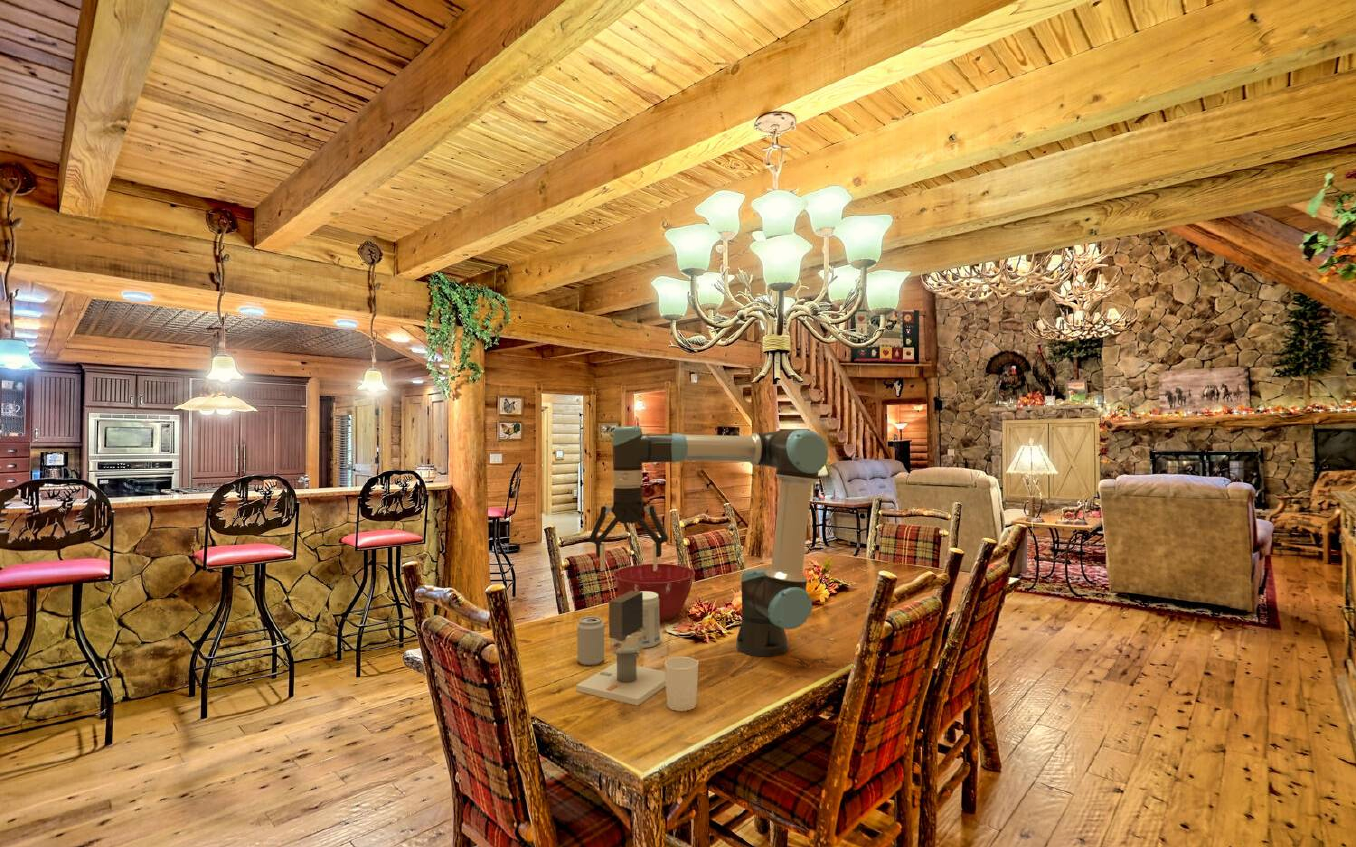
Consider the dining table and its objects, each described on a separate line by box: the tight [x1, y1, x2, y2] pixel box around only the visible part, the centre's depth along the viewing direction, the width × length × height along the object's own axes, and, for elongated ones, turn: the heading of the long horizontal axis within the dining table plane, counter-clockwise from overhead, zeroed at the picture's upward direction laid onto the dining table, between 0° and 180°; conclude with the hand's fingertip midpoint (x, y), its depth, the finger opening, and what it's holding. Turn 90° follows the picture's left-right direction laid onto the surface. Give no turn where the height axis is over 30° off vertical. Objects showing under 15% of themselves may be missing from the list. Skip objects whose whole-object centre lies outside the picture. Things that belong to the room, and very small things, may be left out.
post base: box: [575, 652, 666, 707], centre depth 160 cm, size 18×18×9 cm
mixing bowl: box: [612, 563, 696, 622], centre depth 220 cm, size 28×28×16 cm
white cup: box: [664, 656, 699, 712], centre depth 148 cm, size 8×8×10 cm
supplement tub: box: [640, 591, 661, 649], centre depth 192 cm, size 10×10×15 cm
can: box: [576, 615, 605, 667], centre depth 176 cm, size 8×8×12 cm
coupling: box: [608, 591, 643, 654], centre depth 160 cm, size 12×8×13 cm, turn 156°
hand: (629, 569), depth 162 cm, fingers open, 13 cm apart
